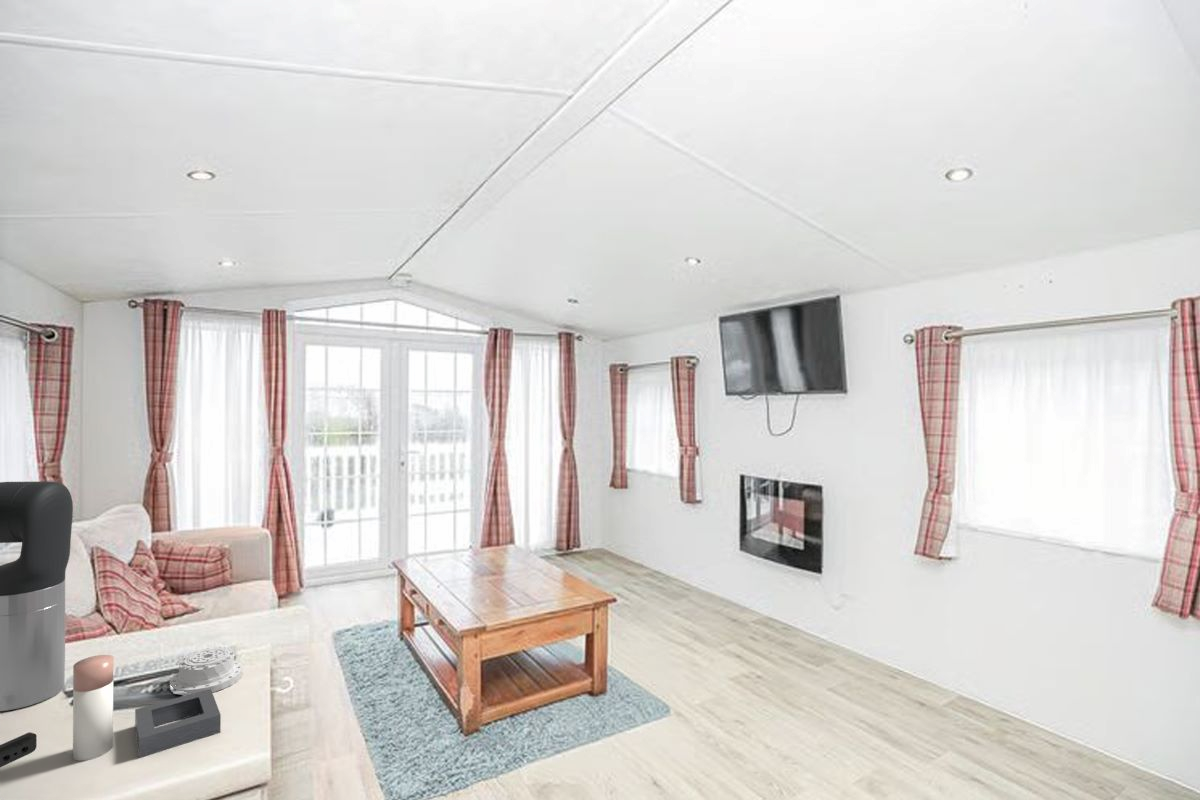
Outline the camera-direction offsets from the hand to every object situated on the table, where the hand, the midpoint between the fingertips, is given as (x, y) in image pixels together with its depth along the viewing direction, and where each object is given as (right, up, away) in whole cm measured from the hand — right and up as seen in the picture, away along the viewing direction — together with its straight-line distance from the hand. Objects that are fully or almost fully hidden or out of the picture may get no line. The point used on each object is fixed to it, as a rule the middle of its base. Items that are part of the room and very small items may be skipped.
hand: (12, 732), depth 69 cm
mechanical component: (+5, -7, +27) cm, 28 cm away
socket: (+10, -7, +13) cm, 18 cm away
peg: (+3, -7, +8) cm, 11 cm away
